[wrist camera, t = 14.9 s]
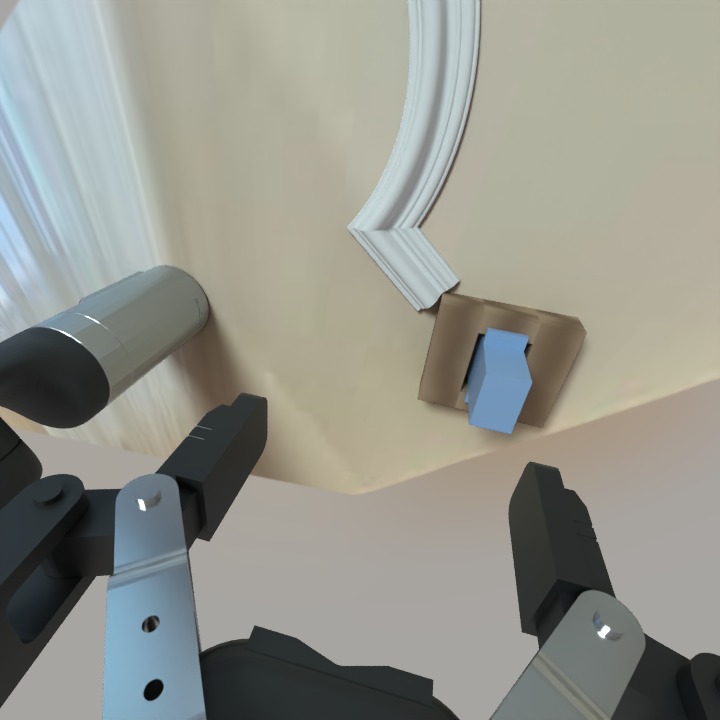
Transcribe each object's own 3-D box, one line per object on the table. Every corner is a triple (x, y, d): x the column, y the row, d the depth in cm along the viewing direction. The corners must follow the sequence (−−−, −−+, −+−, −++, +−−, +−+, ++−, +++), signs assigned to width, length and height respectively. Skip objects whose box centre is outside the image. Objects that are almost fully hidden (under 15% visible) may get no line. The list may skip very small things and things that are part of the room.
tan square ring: (420, 382, 50) (417, 399, 47) (442, 291, 44) (441, 303, 41) (537, 408, 49) (542, 427, 46) (578, 317, 42) (586, 332, 39)
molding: (453, 310, 46) (453, 321, 43) (346, 297, 47) (340, 307, 45) (571, -366, 24) (584, -421, 21) (364, -341, 26) (354, -390, 23)
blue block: (464, 381, 49) (464, 436, 40) (485, 313, 44) (491, 358, 36) (498, 388, 48) (506, 445, 40) (523, 320, 44) (538, 368, 35)
